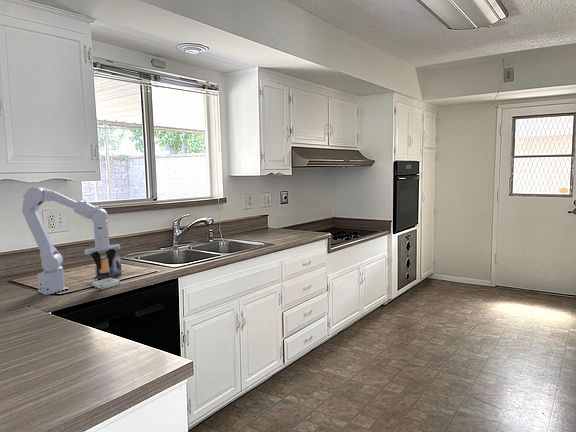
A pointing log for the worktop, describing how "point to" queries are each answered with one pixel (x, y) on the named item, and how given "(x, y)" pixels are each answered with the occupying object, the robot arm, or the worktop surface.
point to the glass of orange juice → (104, 265)
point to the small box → (111, 268)
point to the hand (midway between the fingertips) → (104, 268)
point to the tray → (106, 283)
